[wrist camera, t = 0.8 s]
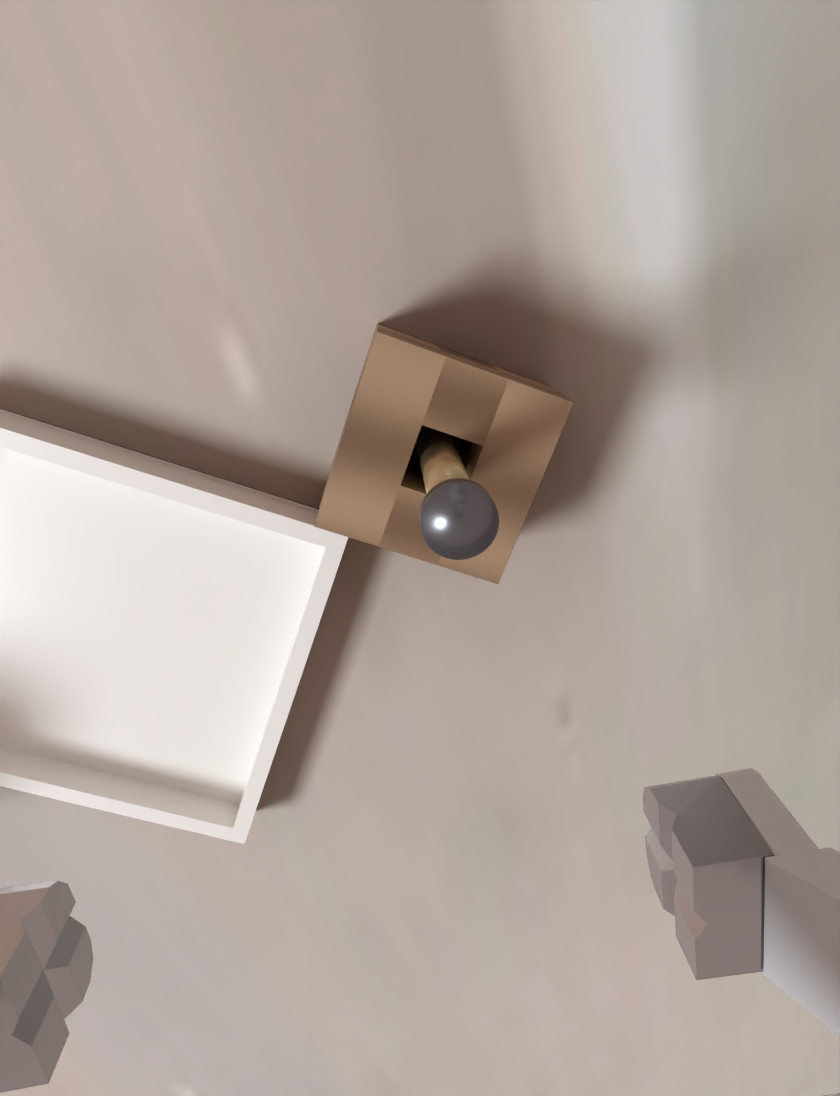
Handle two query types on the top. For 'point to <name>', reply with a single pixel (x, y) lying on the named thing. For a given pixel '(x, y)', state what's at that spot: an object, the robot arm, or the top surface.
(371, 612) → the top surface
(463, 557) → the brass pin
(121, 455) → the off-white tray
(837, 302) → the top surface
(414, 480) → the walnut block
